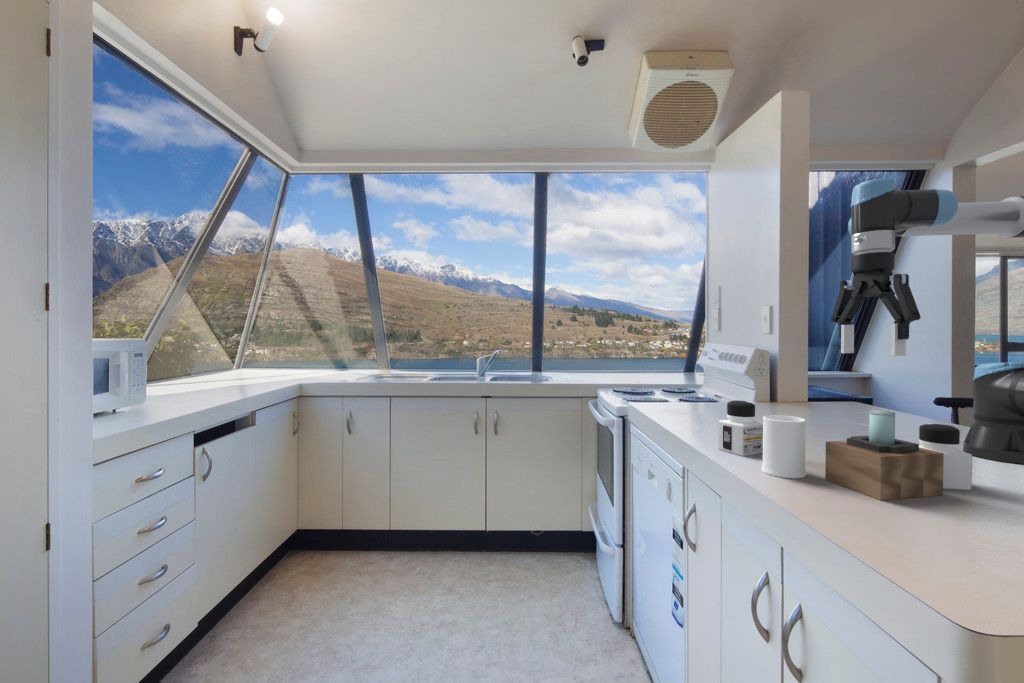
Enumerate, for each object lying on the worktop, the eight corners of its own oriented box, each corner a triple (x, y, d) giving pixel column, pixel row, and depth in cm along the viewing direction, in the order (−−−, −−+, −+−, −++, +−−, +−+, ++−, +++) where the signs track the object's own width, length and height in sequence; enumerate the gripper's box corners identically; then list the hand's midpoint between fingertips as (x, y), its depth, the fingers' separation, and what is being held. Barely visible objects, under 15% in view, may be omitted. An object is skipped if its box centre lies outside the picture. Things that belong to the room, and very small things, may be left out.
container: (742, 456, 115) (743, 404, 115) (717, 449, 123) (717, 400, 122) (764, 453, 119) (765, 402, 118) (738, 446, 126) (739, 398, 125)
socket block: (881, 475, 100) (882, 433, 100) (942, 495, 88) (943, 446, 88) (825, 479, 97) (825, 435, 97) (880, 500, 85) (880, 450, 85)
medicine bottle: (972, 490, 90) (973, 429, 90) (929, 488, 92) (930, 427, 91) (946, 479, 97) (947, 422, 97) (906, 477, 99) (907, 420, 98)
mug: (763, 461, 111) (764, 411, 111) (806, 467, 107) (806, 414, 106) (760, 474, 101) (760, 419, 101) (806, 481, 96) (807, 423, 96)
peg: (880, 452, 95) (881, 409, 95) (900, 457, 91) (900, 413, 91) (863, 453, 94) (864, 410, 94) (882, 458, 90) (883, 414, 90)
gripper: (813, 261, 112) (812, 352, 113) (914, 242, 89) (912, 357, 90) (839, 261, 114) (839, 351, 114) (945, 243, 90) (944, 356, 91)
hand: (871, 354), depth 102 cm, fingers open, 11 cm apart
